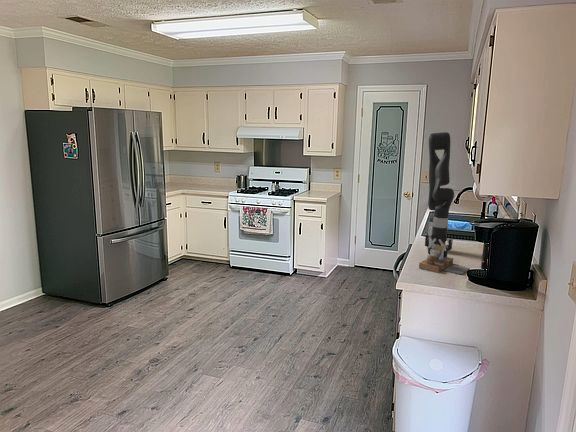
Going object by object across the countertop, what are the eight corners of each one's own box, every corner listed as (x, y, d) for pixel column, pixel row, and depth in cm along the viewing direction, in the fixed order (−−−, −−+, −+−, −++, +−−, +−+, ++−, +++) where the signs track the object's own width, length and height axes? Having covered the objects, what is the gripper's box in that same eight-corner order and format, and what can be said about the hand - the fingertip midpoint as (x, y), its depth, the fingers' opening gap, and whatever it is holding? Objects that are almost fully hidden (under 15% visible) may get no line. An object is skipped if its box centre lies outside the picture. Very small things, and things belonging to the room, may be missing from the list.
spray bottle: (477, 267, 229) (482, 221, 224) (496, 268, 228) (502, 222, 224) (485, 273, 219) (490, 225, 214) (505, 274, 218) (511, 226, 214)
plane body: (435, 259, 240) (436, 242, 238) (453, 263, 234) (454, 245, 232) (418, 268, 224) (420, 249, 222) (437, 272, 217) (439, 253, 215)
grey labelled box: (435, 257, 233) (436, 244, 231) (444, 259, 230) (445, 246, 228) (429, 260, 227) (430, 247, 225) (438, 262, 224) (439, 249, 222)
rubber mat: (452, 266, 229) (452, 264, 229) (469, 269, 224) (470, 268, 223) (444, 271, 220) (444, 269, 220) (462, 275, 215) (462, 273, 214)
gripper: (456, 226, 223) (453, 257, 226) (429, 222, 232) (426, 252, 235) (451, 229, 217) (448, 260, 220) (424, 224, 226) (421, 254, 229)
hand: (437, 256), depth 228 cm, fingers open, 7 cm apart
